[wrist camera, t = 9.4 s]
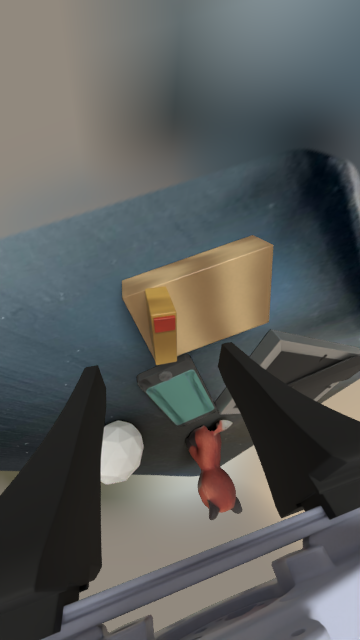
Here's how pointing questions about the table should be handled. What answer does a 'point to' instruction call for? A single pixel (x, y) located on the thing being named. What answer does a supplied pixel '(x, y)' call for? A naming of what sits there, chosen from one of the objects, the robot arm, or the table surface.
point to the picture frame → (300, 365)
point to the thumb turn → (162, 324)
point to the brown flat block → (209, 293)
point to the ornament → (120, 452)
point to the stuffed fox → (213, 470)
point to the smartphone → (178, 391)
